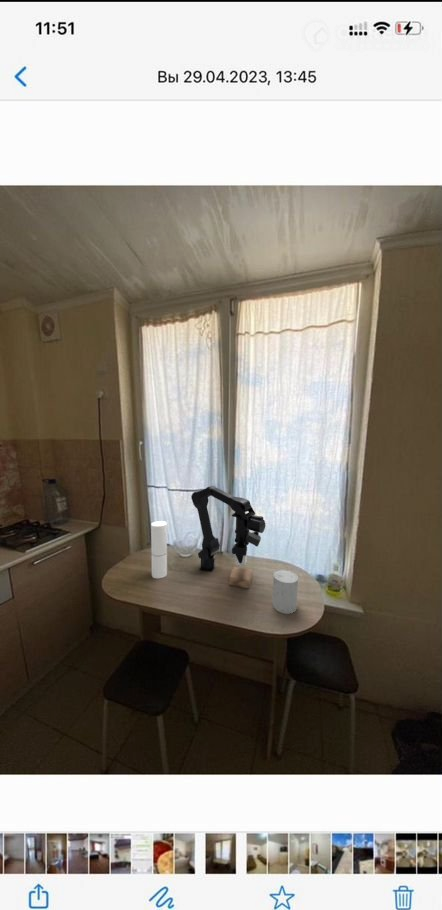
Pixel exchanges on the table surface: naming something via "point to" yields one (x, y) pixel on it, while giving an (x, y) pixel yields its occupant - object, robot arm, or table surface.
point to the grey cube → (242, 560)
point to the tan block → (241, 577)
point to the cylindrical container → (159, 549)
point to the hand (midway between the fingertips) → (241, 560)
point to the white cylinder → (285, 591)
